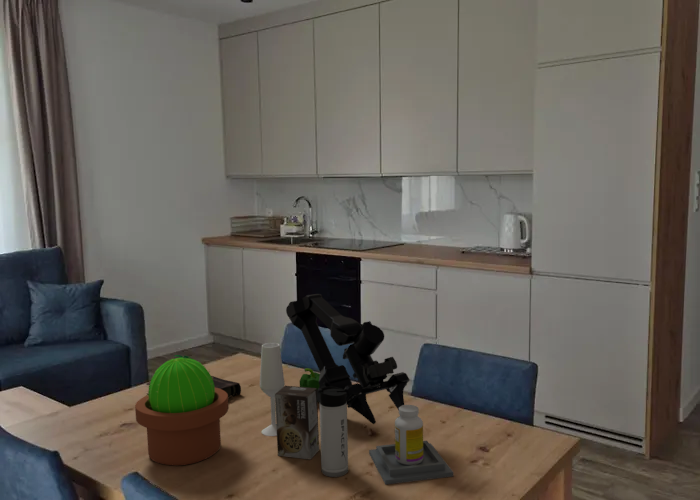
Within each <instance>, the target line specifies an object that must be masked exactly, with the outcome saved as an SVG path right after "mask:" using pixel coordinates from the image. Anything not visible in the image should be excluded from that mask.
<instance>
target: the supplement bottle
mask: <svg viewBox="0 0 700 500" xmlns="http://www.w3.org/2000/svg"><path fill="white" fill-rule="evenodd" d="M419 413H420V412H419V407H418V406H417V405H414V404H404V405H402V406H400V407H399V410H398V415H399V416H397V418H395V420H394V444H395V456H396V460H397V461H398V462H399V463H401V464H404V465H416V464H419V463H421V462H422V461H423V441H424V422H423V419H422V418H421V417H420V416H419Z"/></svg>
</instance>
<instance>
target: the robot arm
mask: <svg viewBox="0 0 700 500" xmlns="http://www.w3.org/2000/svg"><path fill="white" fill-rule="evenodd" d="M285 312H286V313H285V314H286V315H287V317H288V319H289V321H290V322H291V324H292V325H293V326H295V328H297V329H298V330H300V331H301V333H302V335H303V337H304V339H305V341H306V343H307V346H308V349H309V351H310V353H311V354H312V357H313V360H314V361H315V365H316V366H317V368H318V370H319V374H320V377H319V385H320V386H319V388H323V387H338V388H341V389H343V390H345V392H346V401H347V409H349V408H350V409H352V410H354V411H356V412H357V413H359V414H360V415H361V416H362V417H364V419H366V420H367V421H368V422H370V423H371V424H372V425H375V424H376V418H375V415H374V413H373V411H372V409H371V407H370V405H369V403H368V401H367V395H368V394H373V393H376V392H379V391H383V390H386V391H387V392H388V393H389V394H388V397H389V398H390V400H391V401H392V403H393V405H394V406H395V407H396V409H397V410H398V411H399V407H400V406H402V405H405V399H404V398H405V397H404V390H405V388H406V387H407V385H408V383H409V382H410V380H411V379H410V377H409V376H408V374H407V373H406V372H404V371H402V372H396V373H395V371H394V370H397V368H398V364H397V361H396V360H395V358H394V356H390V357H387V358H384V359H383V360H384V361H383V362H379V361H378V360H377V359H376V360H374V359H373V357H372V354H374V353H375V352H376V351H377V349H378V348H379V347H380V346H381V344H382V343H383V341H384V340H385V333H384V331H383V329H381V328H380V327H378V326H377V325H374V324H373V323H372V322H371V321H370V320H369V321H364V322H363V323H362V324H360V322H358V321H357V320H355V319H353V318H351V317H348V316H344V315H342V314H341V313H340V312H339V311H338V310H336V309H335V307H334V306H332V305H331V304H330V302H328V301H327V300H326V299H325V298H324V296H323V295H322V294H321V293H315V294H307V295H306V296H303V297H302V298H300V299H297V300H293V301H289V303H288V305H287V306H286V309H285ZM317 318H318V319H319V320H320V321H321V322H322V323H323V324H324V325H325V326H326V327H327V328H328V329H329V331H330V335H329V336H330V337H331V339H332V340H333V342H334V343H335V344H336V345H337V346H340V347H342V346H346V345H348V347H345V348H344V349H343V350H344V351H343V354H342V359H343V360H348V362H349V364H350V367H351V368H352V370H353V372H354V373H353V374H352V378H353V379H357V381H358V382H359V383H354V384H353V382H352V380H351V375H349V373H348V370H347V368H346V367H345V365H344V364H343V365H338V364H337V363H336V362H335V359H334V357H333V355H332V353H331V350H330V349H329V346H328V345H327V342H326V340H325V338H324V336H323V334H322V331H321V330H320V328H319V325H318V323H317V320H318V319H317ZM389 374H390V375H391V376H390V377H389V378H388V375H389ZM387 378H388V379H387ZM385 379H387V380H385ZM384 380H385V381H384ZM317 401H318V402H317V403H320V392H319V393H318V389H317Z"/></svg>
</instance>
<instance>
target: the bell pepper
mask: <svg viewBox="0 0 700 500" xmlns="http://www.w3.org/2000/svg"><path fill="white" fill-rule="evenodd" d="M303 371H304V372H305V373H302V375H301V377H300V379H299V387H308V388H317V389H318V388H319V386H320V385H319V377H320V372H316V371H314V370H313V369H312V368H310V367H309V368H304V370H303ZM306 372H309V373H310V374H308V373H306ZM317 403H319V402H318V401H317Z"/></svg>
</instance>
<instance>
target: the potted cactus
mask: <svg viewBox="0 0 700 500" xmlns="http://www.w3.org/2000/svg"><path fill="white" fill-rule="evenodd" d="M174 357H176V358H174ZM201 362H202V361H201V360H200V361H198V360H196V359H194V358H191V356H190V355H189V356H188V355H180V354H174V356H173V357H171V358H170V359H168V360H167V361H164V363H163V364H160V365H159V366H158V367H157V369H156V370H155V371H154V370H153V372H154V374H153V375H152V376H151V380H150V381H149V382H150V385H145V387H146V389H148V390H147V392H148V395H147V394H146V395H144V396H142V397H141V398H140V399H138V400H137V401H136V403H135V405H134V406H135V407H134V408H135V409H134V410H135V420H136V423H137V424H138V425H140V426H142V427H144V428H146V436H147V437H146V438H147V439H146V440H147V453H148V456H149V458H150V460H152V461H153V462H155V463H158V464H161V465H166V466H176V467H177V466H186V465H188V466H189V465H192V464H193V465H194V464H196V463H199V462H203V461H204V460H206V459H208V458H210V457H212V456H214V455H215V454H216V453H217V452H218V451H219V450H220V448H221V445H222V441H221V440H222V439H221V418H223V417H224V416H225V415H226V414H227V413H228V412H229V398H228V394H227V393H226V392H225V391H224V390H222V389H219V388H216V387H214V382H213V378H212V377H211V376H212V375H211V373H210V372H211V371H210V369H207V368H206V367H205V366H206V365H205V364H204V365H203V364H202V363H201Z"/></svg>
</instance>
